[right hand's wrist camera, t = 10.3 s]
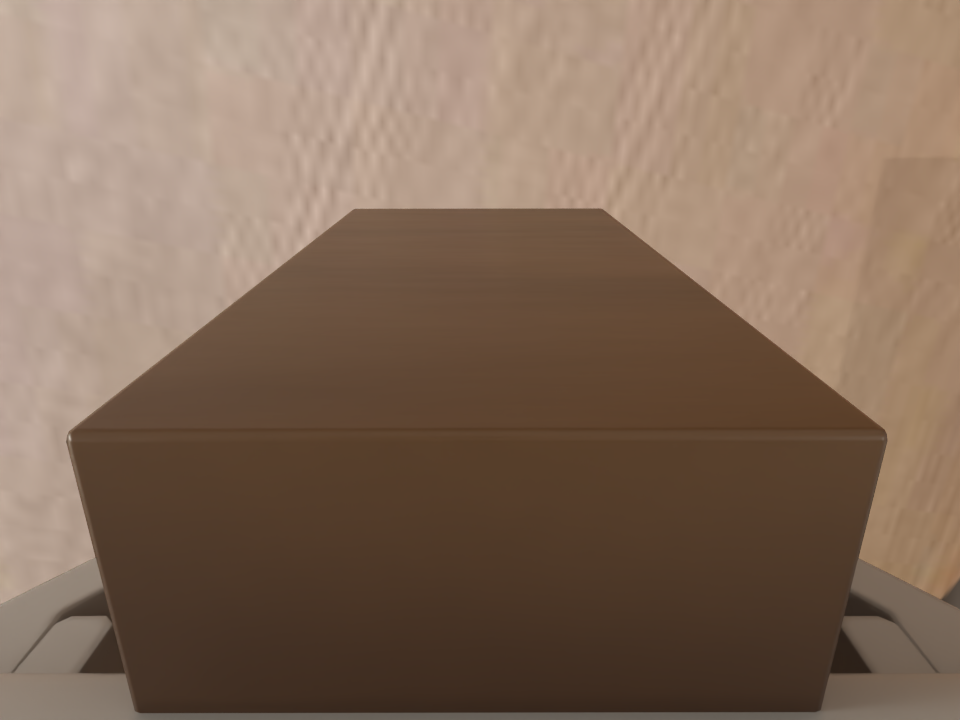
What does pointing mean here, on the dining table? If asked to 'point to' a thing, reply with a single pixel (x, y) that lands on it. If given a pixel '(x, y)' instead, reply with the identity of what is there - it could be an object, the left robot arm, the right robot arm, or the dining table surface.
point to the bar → (477, 486)
